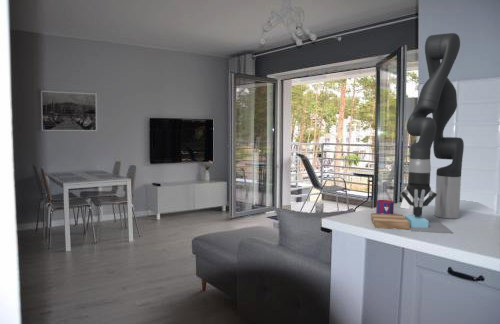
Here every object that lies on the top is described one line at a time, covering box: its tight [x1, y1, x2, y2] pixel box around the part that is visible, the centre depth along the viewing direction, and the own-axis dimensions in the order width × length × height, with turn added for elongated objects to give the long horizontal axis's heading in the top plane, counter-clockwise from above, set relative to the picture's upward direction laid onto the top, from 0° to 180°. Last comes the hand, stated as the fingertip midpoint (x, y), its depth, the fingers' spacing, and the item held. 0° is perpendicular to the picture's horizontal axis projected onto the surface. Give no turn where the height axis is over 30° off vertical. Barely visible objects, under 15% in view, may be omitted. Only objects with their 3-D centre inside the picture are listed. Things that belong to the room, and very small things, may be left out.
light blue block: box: [404, 214, 429, 228], centre depth 148 cm, size 9×6×2 cm, turn 173°
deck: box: [370, 212, 410, 230], centre depth 149 cm, size 14×12×2 cm
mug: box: [375, 199, 395, 214], centre depth 163 cm, size 7×10×7 cm
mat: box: [409, 220, 454, 234], centre depth 146 cm, size 16×14×1 cm
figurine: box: [399, 174, 413, 210], centre depth 182 cm, size 7×8×18 cm
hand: (417, 216), depth 147 cm, fingers closed
